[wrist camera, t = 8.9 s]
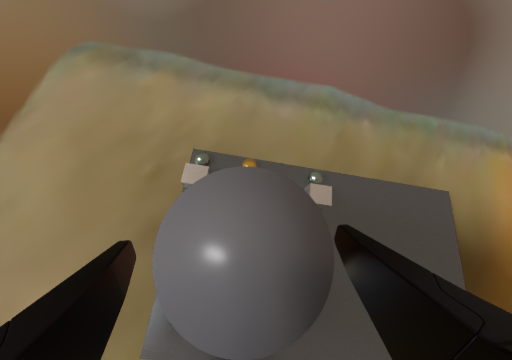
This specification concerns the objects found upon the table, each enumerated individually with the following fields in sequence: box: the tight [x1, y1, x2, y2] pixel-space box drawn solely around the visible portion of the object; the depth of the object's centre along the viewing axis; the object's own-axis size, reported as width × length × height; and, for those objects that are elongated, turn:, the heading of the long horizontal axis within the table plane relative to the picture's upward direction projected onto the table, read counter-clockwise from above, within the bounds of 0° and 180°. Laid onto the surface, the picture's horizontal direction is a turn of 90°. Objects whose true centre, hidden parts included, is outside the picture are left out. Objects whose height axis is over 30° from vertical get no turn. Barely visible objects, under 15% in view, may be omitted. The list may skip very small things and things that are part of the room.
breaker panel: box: [140, 149, 466, 360], centre depth 16 cm, size 15×24×3 cm, turn 82°
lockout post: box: [152, 166, 334, 360], centre depth 10 cm, size 4×4×11 cm
